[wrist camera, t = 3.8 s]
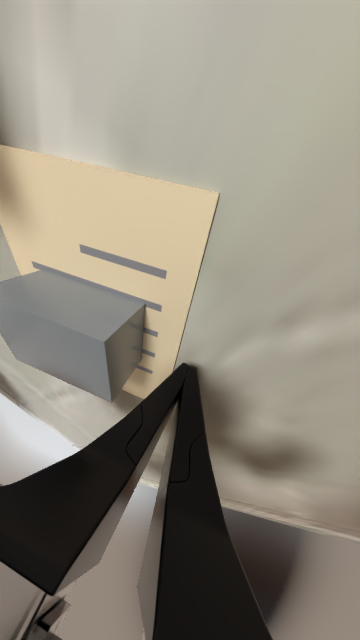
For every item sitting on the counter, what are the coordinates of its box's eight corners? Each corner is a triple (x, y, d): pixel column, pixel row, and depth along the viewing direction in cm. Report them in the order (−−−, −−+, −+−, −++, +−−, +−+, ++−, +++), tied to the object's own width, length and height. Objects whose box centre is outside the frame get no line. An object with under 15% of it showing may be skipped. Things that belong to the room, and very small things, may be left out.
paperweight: (145, 303, 9) (104, 341, 7) (141, 359, 12) (111, 402, 10) (45, 268, 10) (-27, 289, 8) (63, 328, 13) (16, 359, 11)
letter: (219, 193, 6) (219, 192, 6) (163, 406, 15) (163, 407, 15) (-32, 137, 8) (-36, 136, 8) (57, 359, 17) (56, 360, 17)
